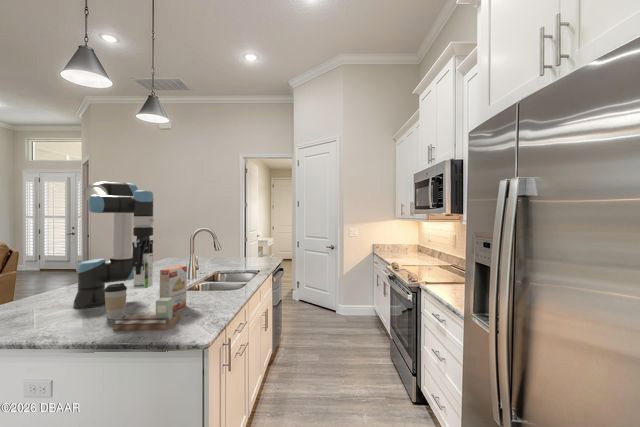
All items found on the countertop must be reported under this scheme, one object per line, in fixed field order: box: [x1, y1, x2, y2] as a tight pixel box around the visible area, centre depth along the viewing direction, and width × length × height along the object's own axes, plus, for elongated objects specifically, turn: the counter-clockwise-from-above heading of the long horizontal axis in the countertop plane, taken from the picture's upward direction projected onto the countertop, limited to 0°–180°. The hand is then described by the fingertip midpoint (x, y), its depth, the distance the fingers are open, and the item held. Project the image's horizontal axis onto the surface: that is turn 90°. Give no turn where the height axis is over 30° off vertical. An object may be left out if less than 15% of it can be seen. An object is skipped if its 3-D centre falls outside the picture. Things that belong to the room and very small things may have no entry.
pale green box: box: [155, 297, 174, 321], centre depth 140 cm, size 5×5×9 cm
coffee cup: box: [104, 282, 128, 320], centre depth 151 cm, size 9×9×15 cm
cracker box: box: [158, 265, 188, 312], centre depth 163 cm, size 14×6×21 cm, turn 168°
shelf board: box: [112, 313, 182, 331], centre depth 141 cm, size 22×14×4 cm, turn 93°
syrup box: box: [132, 252, 154, 290], centre depth 140 cm, size 6×6×14 cm
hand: (143, 280), depth 140 cm, fingers closed on syrup box, 6 cm apart
